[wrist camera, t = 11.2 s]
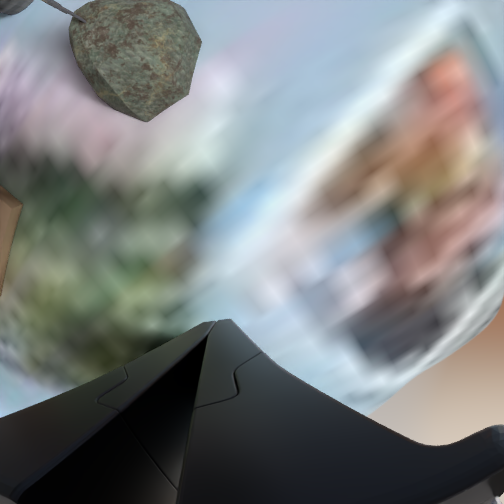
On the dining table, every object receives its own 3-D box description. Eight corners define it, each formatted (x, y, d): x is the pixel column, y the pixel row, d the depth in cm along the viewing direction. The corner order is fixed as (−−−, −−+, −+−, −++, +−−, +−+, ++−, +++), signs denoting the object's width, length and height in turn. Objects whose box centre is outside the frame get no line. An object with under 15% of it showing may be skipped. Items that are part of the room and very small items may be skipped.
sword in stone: (237, 51, 16) (213, -45, 5) (150, 139, 19) (31, 157, 7) (138, -23, 14) (55, -107, 3) (63, 57, 16) (-60, 34, 5)
